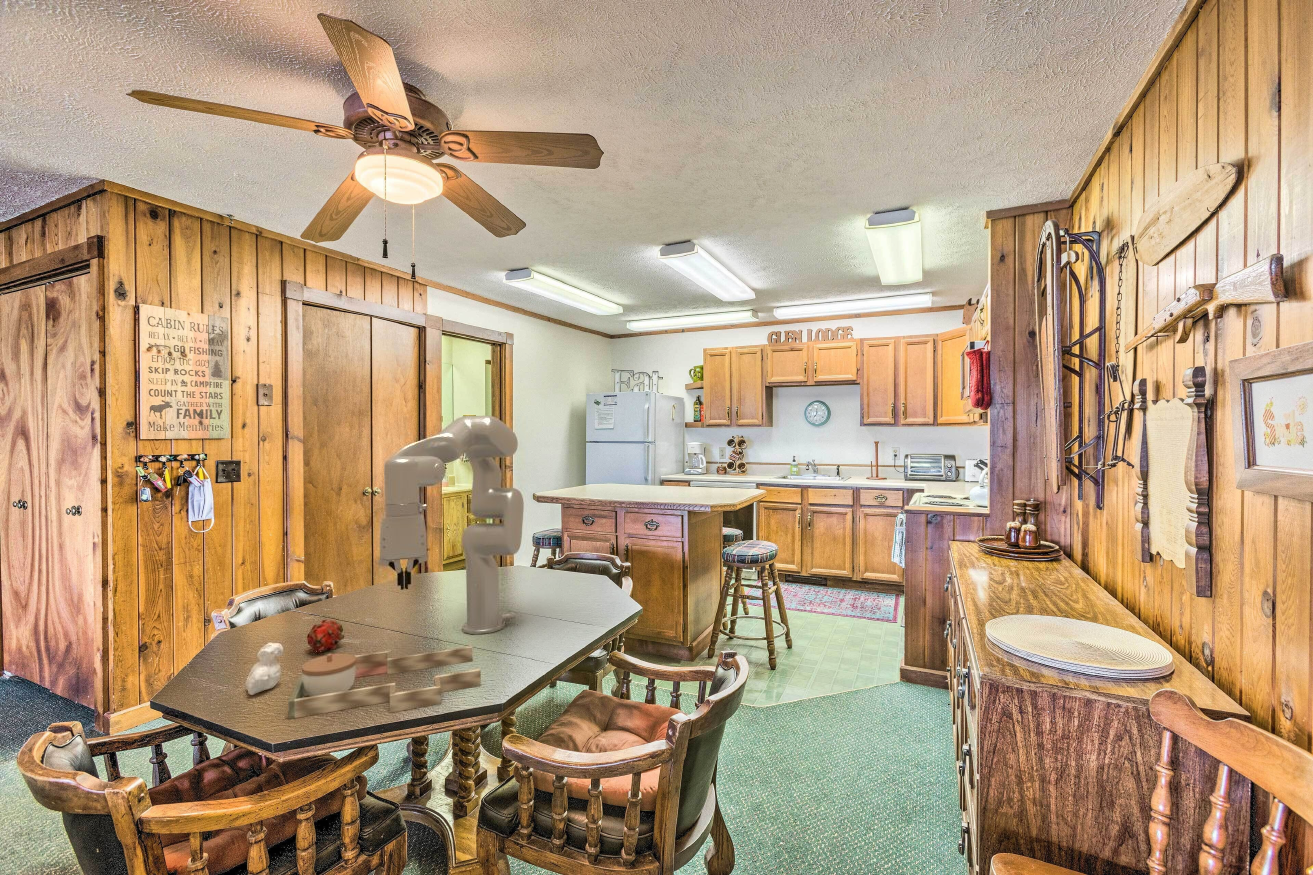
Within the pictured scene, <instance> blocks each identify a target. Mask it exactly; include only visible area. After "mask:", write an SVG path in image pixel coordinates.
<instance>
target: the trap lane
mask: <svg viewBox="0 0 1313 875" xmlns="http://www.w3.org/2000/svg"><path fill="white" fill-rule="evenodd" d="M473 650H474V648H473V646H472V645H470V646H464V647H458V648H456V647H455V648H450V649H449V648H448V649H444V650H437V651H436V650H435V651H431V652H425V653H418V654H411V655H410V654H409V655H403V656H397V657H393V650H385V651H377V652H371V653H366V654H365V653H364V654H359V655H355V656H356V658H357V661H356V674H355V679H358V678H364V677H363V676H366V677H370V676H369V675H372V676H376V675H378V676H379V675H383V674H386V675H393V674H398V673H405V672H412V671H418V670H424V669H431V668H437V667H443V666H444V667H445V666H451V665H455V664H461V663H469V662H474V660H473V656H474V654H473V652H474V651H473ZM481 674H482V673H481V668H477V669H469V670H465V671H458V672H453V673H452V672H451V673H447V674H439V675H435V676H433V683H434V684H433V686H429V687H423V688H418V689H410V690H406V691H399V692H396V682H391V683H386V684H380V685H379V684H378V685H373V686H366V687H362V688H355V689H349V690H348V691H342V692H336V693H330V694H324V695H317V696H311V697H310V696H307V697H305V696H304V695H305V693H306V691H305V688H304V685H303V677H302V672H301V673H300V676H299V677H298V680H297V683H296V685H295V687H294V690H293V692H292V694H291V695H290V698H289V701H288V720H290V719H291V720H292V719H297V718H301V717H303V718H304V717H308V716H314V715H315V716H316V715H320V714H327V713H331V712H336V711H343V710H348V709H354V708H359V707H366V706H372V705H377V704H378V705H379V704H383V703H389V714H390V713H396V712H402V711H405V710H406V711H407V710H412V709H417V708H422V707H428V706H434V705H440V704H442V693H446V692H452V691H458V690H462V689H463V690H464V689H467V688H468V689H469V688H473V687H474V688H475V687H479V686H481V685H482V682H481V681H482V680H481V676H482V675H481Z"/></svg>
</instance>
